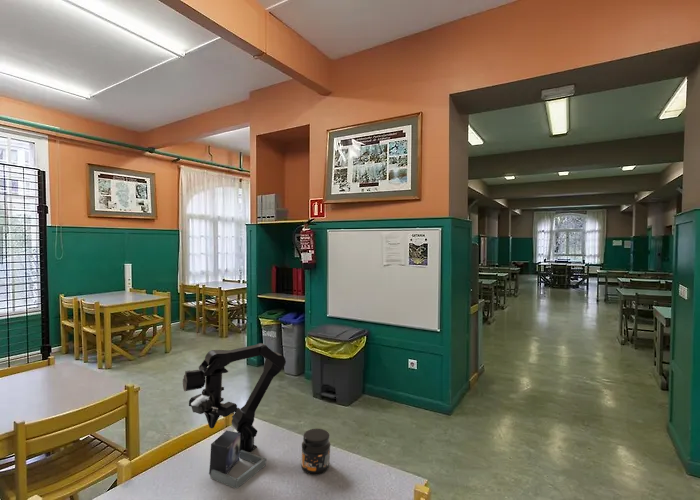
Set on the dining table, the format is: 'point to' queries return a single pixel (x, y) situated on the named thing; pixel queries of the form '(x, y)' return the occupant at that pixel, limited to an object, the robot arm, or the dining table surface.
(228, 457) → the small box
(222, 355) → the robot arm
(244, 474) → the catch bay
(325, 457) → the supplement container
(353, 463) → the dining table surface
